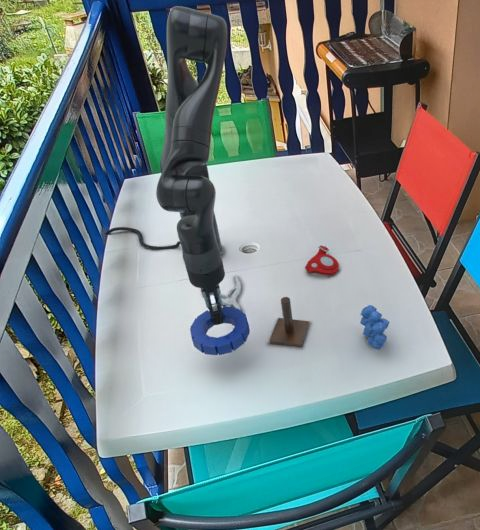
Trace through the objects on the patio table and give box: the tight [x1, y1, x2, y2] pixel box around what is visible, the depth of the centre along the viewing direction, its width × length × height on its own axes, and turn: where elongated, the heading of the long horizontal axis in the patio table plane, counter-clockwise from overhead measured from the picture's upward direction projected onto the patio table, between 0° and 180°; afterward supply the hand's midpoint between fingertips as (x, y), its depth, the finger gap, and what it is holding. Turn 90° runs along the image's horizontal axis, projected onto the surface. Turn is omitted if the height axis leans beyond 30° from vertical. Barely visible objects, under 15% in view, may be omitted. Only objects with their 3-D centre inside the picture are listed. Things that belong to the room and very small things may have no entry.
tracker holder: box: [304, 244, 340, 276], centre depth 144 cm, size 12×4×10 cm
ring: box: [189, 305, 251, 357], centre depth 112 cm, size 12×12×3 cm
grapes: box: [359, 304, 390, 350], centre depth 119 cm, size 12×7×12 cm, turn 23°
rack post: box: [268, 296, 310, 347], centre depth 121 cm, size 8×8×12 cm
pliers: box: [220, 275, 242, 311], centre depth 133 cm, size 10×2×15 cm
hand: (217, 318), depth 116 cm, fingers closed on ring, 3 cm apart
